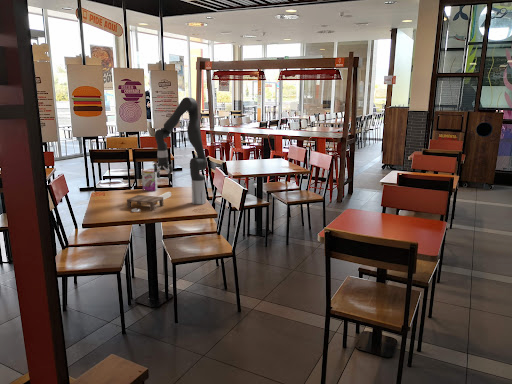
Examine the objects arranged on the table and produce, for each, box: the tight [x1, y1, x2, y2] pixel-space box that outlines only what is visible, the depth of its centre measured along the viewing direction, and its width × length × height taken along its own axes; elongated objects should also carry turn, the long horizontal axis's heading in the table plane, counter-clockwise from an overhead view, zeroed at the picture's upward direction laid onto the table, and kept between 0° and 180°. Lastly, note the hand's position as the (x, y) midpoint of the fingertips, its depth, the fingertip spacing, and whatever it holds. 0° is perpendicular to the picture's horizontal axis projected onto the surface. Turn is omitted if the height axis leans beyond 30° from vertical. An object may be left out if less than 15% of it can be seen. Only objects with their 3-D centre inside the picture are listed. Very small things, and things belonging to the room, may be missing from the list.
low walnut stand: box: [126, 194, 165, 212], centre depth 280 cm, size 20×14×6 cm
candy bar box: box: [141, 169, 158, 192], centre depth 328 cm, size 11×5×16 cm, turn 84°
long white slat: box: [146, 191, 172, 205], centre depth 300 cm, size 8×26×4 cm, turn 163°
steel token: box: [131, 207, 142, 213], centre depth 270 cm, size 6×6×2 cm
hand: (163, 178), depth 302 cm, fingers open, 8 cm apart
